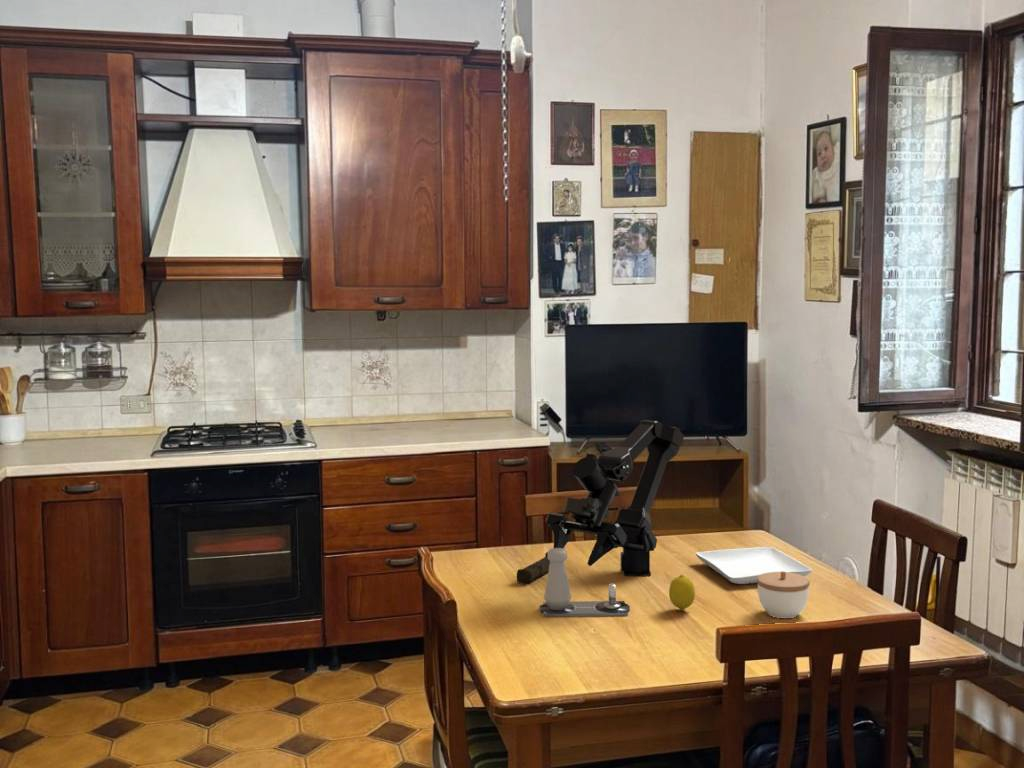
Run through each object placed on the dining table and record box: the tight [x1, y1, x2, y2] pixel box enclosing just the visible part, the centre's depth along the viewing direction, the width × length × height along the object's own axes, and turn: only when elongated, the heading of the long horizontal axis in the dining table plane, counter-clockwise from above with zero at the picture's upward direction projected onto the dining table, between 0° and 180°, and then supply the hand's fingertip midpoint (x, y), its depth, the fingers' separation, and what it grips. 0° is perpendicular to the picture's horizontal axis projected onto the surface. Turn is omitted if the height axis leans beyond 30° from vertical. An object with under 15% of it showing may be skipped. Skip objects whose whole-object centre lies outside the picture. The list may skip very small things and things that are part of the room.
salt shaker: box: [544, 548, 572, 610], centre depth 225 cm, size 6×6×13 cm
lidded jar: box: [756, 571, 810, 619], centre depth 220 cm, size 11×11×9 cm
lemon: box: [668, 574, 696, 612], centre depth 224 cm, size 6×6×8 cm
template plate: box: [539, 600, 631, 618], centre depth 225 cm, size 20×8×1 cm, turn 89°
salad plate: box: [695, 546, 813, 585], centre depth 250 cm, size 21×21×3 cm
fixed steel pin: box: [604, 583, 621, 610], centre depth 225 cm, size 4×4×5 cm
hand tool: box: [516, 551, 550, 585], centre depth 252 cm, size 19×4×5 cm, turn 147°
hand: (571, 561), depth 229 cm, fingers open, 9 cm apart
